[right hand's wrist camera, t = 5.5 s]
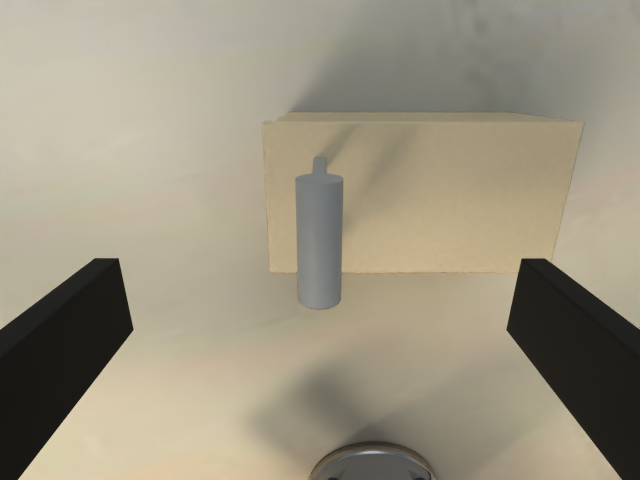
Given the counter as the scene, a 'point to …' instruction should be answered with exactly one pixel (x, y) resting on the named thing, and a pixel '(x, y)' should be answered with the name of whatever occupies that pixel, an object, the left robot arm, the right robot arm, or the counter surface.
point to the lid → (412, 197)
